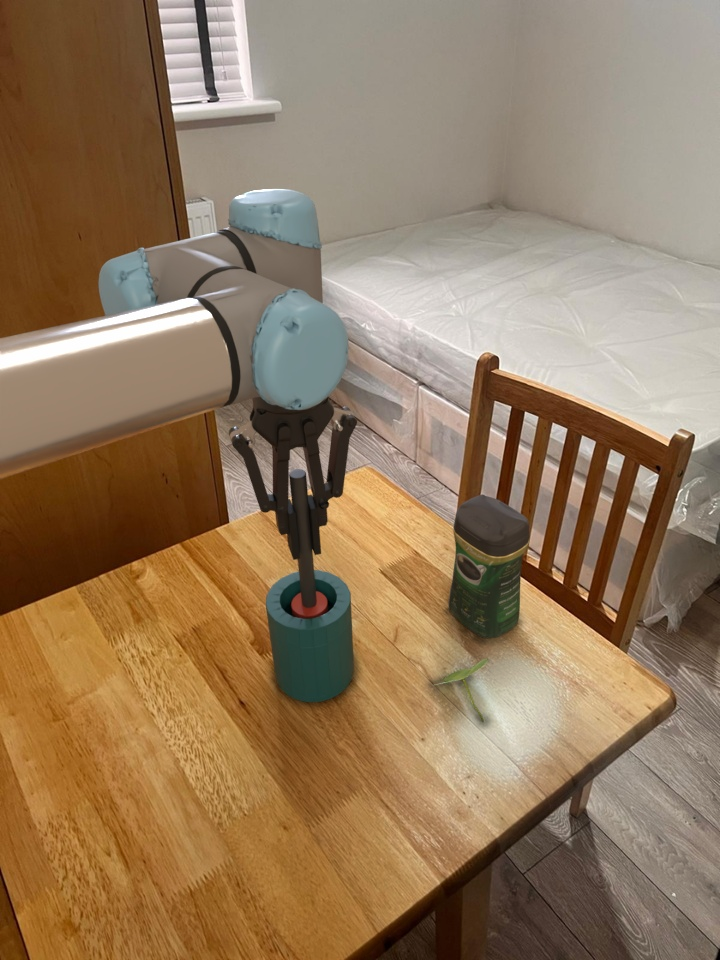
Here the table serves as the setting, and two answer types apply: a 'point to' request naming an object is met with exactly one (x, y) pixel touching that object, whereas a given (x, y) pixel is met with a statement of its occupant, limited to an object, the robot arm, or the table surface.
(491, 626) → the coffee jar
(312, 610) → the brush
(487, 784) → the table surface
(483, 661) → the seedling
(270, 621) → the cup
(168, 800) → the table surface
